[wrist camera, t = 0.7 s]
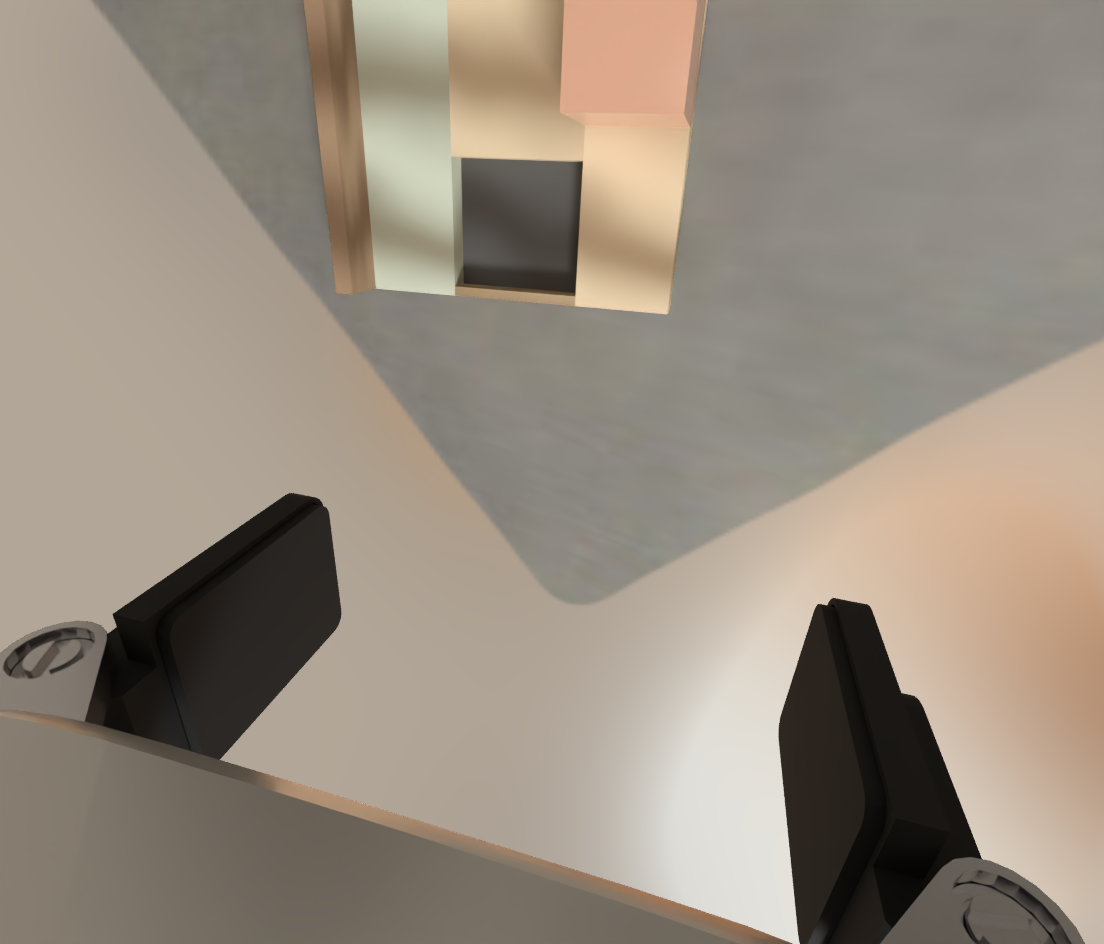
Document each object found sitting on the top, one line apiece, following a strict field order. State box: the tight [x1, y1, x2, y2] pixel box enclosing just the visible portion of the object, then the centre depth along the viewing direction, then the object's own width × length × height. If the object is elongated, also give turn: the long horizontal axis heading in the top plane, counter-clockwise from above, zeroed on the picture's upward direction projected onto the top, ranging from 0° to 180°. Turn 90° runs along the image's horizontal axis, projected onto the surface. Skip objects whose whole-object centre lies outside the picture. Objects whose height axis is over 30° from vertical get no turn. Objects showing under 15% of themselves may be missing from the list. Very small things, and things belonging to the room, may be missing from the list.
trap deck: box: [304, 0, 708, 314], centre depth 28 cm, size 22×18×4 cm
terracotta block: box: [560, 0, 706, 128], centre depth 25 cm, size 5×5×5 cm
